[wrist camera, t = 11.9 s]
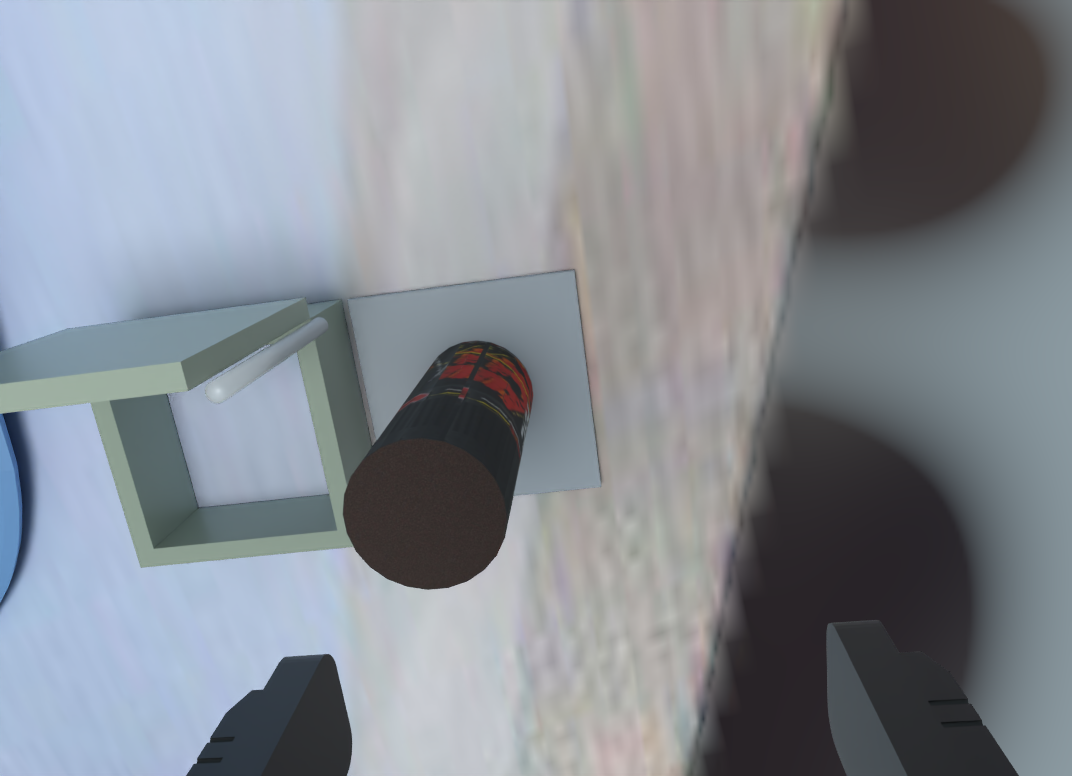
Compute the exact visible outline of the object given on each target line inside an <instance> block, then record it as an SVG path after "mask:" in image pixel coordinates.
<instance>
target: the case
mask: <svg viewBox="0 0 1072 776" xmlns="http://www.w3.org/2000/svg"><path fill="white" fill-rule="evenodd" d="M269 344H272V345H270V346H269V347H267V348H266V349H264V350H262V351H261V352H259V353H257V354H256V355H254V356H252V357H251V358H249V359H247V360H246V361H244V362H242V363H241V364H239V365H238V366H236V367H234V368H233V369H231V370H229V371H228V372H226V373H224V374H223V375H221V376H219V377H218V378H216V379H215V380H213V381H211V382H210V383H208V384H207V385H206V387H205V394H206V397H207V398H208V399H209V400H210V401H211V402H213V403H217V404H219V403H223V402H224V401H226V400H227V399H229V398H230V397H232V396H233V395H234V394H236V393H237V392H239V391H240V390H242V389H243V388H245V387H246V386H248V385H249V384H250V383H252V382H253V381H255V380H256V379H258V378H259V377H261V376H262V375H264V374H265V373H267V372H268V371H269V370H271V369H272V368H274V367H275V366H277V365H278V364H280V363H281V362H283V361H284V360H286V359H287V358H288V357H290V356H291V355H293V354H294V353H296V352H297V355H298V359H299V363H300V368H301V372H302V377H303V381H304V385H305V390H306V394H307V399H308V403H309V407H310V412H311V416H312V421H313V425H314V429H315V434H316V438H317V443H318V447H319V451H320V456H321V460H322V465H323V469H324V473H325V478H326V482H327V487H328V491H329V494H328V495H318V496H309V497H299V498H290V499H280V500H271V501H261V502H252V503H242V504H233V505H223V506H214V507H204V508H198V506H197V502H196V498H195V495H194V491H193V488H192V484H191V480H190V477H189V473H188V469H187V466H186V462H185V459H184V455H183V451H182V448H181V444H180V441H179V437H178V433H177V430H176V426H175V423H174V419H173V415H172V412H171V408H170V405H169V401H168V397H167V393H176V392H184V391H189V390H191V389H192V388H194V387H196V386H197V385H199V384H201V383H202V382H204V381H206V380H207V379H209V378H211V377H213V376H214V375H216V374H218V373H219V372H221V371H223V370H224V369H226V368H228V367H229V366H231V365H233V364H234V363H236V362H238V361H239V360H241V359H243V358H244V357H246V356H248V355H249V354H251V353H253V352H254V351H256V350H258V349H259V348H261V347H263V346H264V345H269ZM84 403H91V406H92V410H93V413H94V416H95V420H96V423H97V426H98V429H99V433H100V436H101V439H102V442H103V446H104V449H105V452H106V455H107V459H108V462H109V465H110V469H111V472H112V475H113V478H114V482H115V485H116V488H117V491H118V495H119V498H120V501H121V504H122V508H123V511H124V514H125V518H126V521H127V524H128V527H129V531H130V534H131V537H132V540H133V544H134V547H135V550H136V553H137V557H138V560H139V563H140V567H141V568H142V567H152V566H163V565H173V564H183V563H193V562H203V561H214V560H224V559H234V558H244V557H254V556H265V555H275V554H285V553H295V552H305V551H316V550H326V549H336V548H346V547H354V546H353V544H352V542H351V541H350V539H349V537H348V535H347V532H346V527H345V523H344V518H343V501H344V493H345V490H346V488H347V485H348V482H349V480H350V477H351V475H352V474H353V473H354V471H355V470H356V468H357V467H358V466H359V464H360V463H361V461H362V460H363V459H364V457H365V456H366V455H367V453H368V452H369V450H370V449H371V448H372V445H371V440H370V435H369V430H368V425H367V421H366V416H365V411H364V406H363V401H362V396H361V392H360V387H359V382H358V377H357V372H356V368H355V363H354V358H353V353H352V348H351V343H350V339H349V334H348V329H347V324H346V319H345V315H344V310H343V305H342V300H334V301H327V302H319V303H311V304H307V302H306V298H298V299H290V300H283V301H275V302H267V303H260V304H252V305H244V306H237V307H229V308H221V309H214V310H206V311H198V312H191V313H183V314H175V315H168V316H160V317H153V318H145V319H137V320H130V321H122V322H114V323H107V324H99V325H91V326H84V327H76V328H68V329H65V330H62V331H59V332H56V333H53V334H50V335H47V336H44V337H41V338H38V339H35V340H33V341H30V342H27V343H24V344H21V345H18V346H15V347H12V348H9V349H6V350H3V351H0V414H2V413H10V412H18V411H26V410H35V409H43V408H51V407H60V406H68V405H76V404H84Z"/></svg>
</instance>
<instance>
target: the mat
mask: <svg viewBox="0 0 1072 776" xmlns="http://www.w3.org/2000/svg"><path fill="white" fill-rule="evenodd" d="M347 302H348V307H349V312H350V316H351V321H352V326H353V331H354V336H355V341H356V346H357V351H358V355H359V360H360V365H361V370H362V375H363V380H364V385H365V389H366V394H367V399H368V404H369V409H370V414H371V419H372V423H373V428H374V433H375V438H376V441H377V439H378V438H379V437H380V435H381V434H382V432H383V431H384V430H385V428H386V427H387V426H388V424H389V423H390V421H391V420H392V419H393V417H394V416H395V414H396V413H397V412H398V410H399V409H400V408H401V406H402V405H403V403H404V402H405V401H406V399H407V398H408V396H409V395H410V394H411V392H412V391H413V390H414V388H415V387H416V385H417V384H418V383H419V381H420V380H421V379H422V377H423V376H424V374H425V373H426V372H427V370H428V369H429V367H430V366H431V365H432V363H433V362H434V361H435V359H436V358H437V357H438V356H439V355H440V354H441V353H443V352H444V351H445V350H447V349H448V348H449V347H452V346H454V345H457V344H459V343H462V342H468V341H485V342H492V343H494V344H496V345H499V346H501V347H504V348H506V349H507V350H508V351H510V352H511V353H512V354H514V355H515V356H516V357H517V358H518V359H519V360H520V362H521V363H522V364H523V365H524V367H525V368H526V370H527V372H528V374H529V377H530V379H531V382H532V389H533V402H532V409H531V414H530V418H529V423H528V428H527V433H526V438H525V442H524V447H523V452H522V457H521V462H520V467H519V471H518V476H517V481H516V486H515V491H514V495H513V496H517V495H527V494H537V493H546V492H556V491H566V490H576V489H585V488H595V487H601V479H600V471H599V463H598V455H597V447H596V439H595V431H594V423H593V415H592V407H591V399H590V391H589V383H588V375H587V367H586V359H585V351H584V343H583V335H582V327H581V319H580V311H579V303H578V295H577V287H576V279H575V271H574V269H573V270H565V271H558V272H550V273H542V274H535V275H527V276H519V277H512V278H504V279H496V280H488V281H481V282H473V283H465V284H458V285H450V286H442V287H435V288H427V289H419V290H411V291H404V292H396V293H388V294H381V295H373V296H365V297H358V298H350V299H349V300H347Z"/></svg>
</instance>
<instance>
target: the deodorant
mask: <svg viewBox="0 0 1072 776" xmlns="http://www.w3.org/2000/svg"><path fill="white" fill-rule="evenodd" d="M532 402H533V389H532V382H531V379H530V377H529V374H528V372H527V370H526V368H525V367H524V365H523V364H522V363H521V362H520V360H519V359H518V358H517V357H516V356H515V355H514V354H512V353H511V352H510V351H508V350H507V349H506V348H504V347H501V346H499V345H496V344H494V343H492V342H485V341H468V342H462V343H459V344H457V345H454V346H452V347H449V348H448V349H447V350H445V351H444V352H443V353H441V354H440V355H439V356H438V357H437V358H436V359H435V361H434V362H433V363H432V365H431V366H430V367H429V369H428V370H427V372H426V373H425V374H424V376H423V377H422V379H421V380H420V381H419V383H418V384H417V385H416V387H415V388H414V390H413V391H412V392H411V394H410V395H409V396H408V398H407V399H406V401H405V402H404V403H403V405H402V406H401V408H400V409H399V410H398V412H397V413H396V414H395V416H394V417H393V419H392V420H391V421H390V423H389V424H388V426H387V427H386V428H385V430H384V431H383V432H382V434H381V435H380V437H379V438H378V439H377V441H376V442H375V444H374V445H373V446H372V448H371V449H370V450H369V452H368V453H367V455H366V456H365V457H364V459H363V460H362V461H361V463H360V464H359V466H358V467H357V468H356V470H355V471H354V473H353V474H352V475H351V477H350V480H349V482H348V485H347V488H346V490H345V493H344V501H343V518H344V523H345V527H346V532H347V535H348V537H349V539H350V541H351V542H352V544H353V546H354V548H355V550H356V552H357V553H358V554H359V555H360V556H361V557H362V559H363V560H364V561H365V562H366V563H367V564H368V565H369V566H370V567H371V568H372V569H374V570H375V571H377V572H378V573H379V574H381V575H382V576H384V577H385V578H387V579H389V580H391V581H394V582H397V583H399V584H402V585H404V586H407V587H414V588H420V589H427V590H429V589H440V588H449V587H452V586H455V585H458V584H461V583H464V582H466V581H468V580H470V579H471V578H473V577H474V576H476V575H477V574H479V573H480V572H482V571H483V570H484V569H485V568H486V567H487V566H488V565H489V564H490V563H491V561H492V560H493V559H494V558H495V557H496V556H497V554H498V551H499V549H500V547H501V545H502V543H503V540H504V538H505V534H506V529H507V524H508V519H509V515H510V510H511V505H512V500H513V495H514V491H515V486H516V481H517V476H518V471H519V467H520V462H521V457H522V452H523V447H524V442H525V438H526V433H527V428H528V423H529V418H530V414H531V409H532Z"/></svg>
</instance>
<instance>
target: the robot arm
mask: <svg viewBox="0 0 1072 776" xmlns="http://www.w3.org/2000/svg"><path fill="white" fill-rule="evenodd" d="M827 685H828V686H827V688H828V689H827V691H828V713H829V721H830V727H831V732H832V736H833V740H834V743H835V746H836V749H837V752H838V755H839V757H840V759H841V762H842V765H843V767H844V770H845V772H846V775H847V776H1019V775H1018V774H1017V773H1016V771H1015V769H1014V768H1013V766H1012V765H1011V763H1010V762H1009V760H1008V759H1007V757H1006V756H1005V754H1004V753H1003V751H1002V750H1001V748H1000V747H999V745H998V744H997V742H996V741H995V739H994V738H993V736H992V735H991V733H990V732H989V730H988V729H987V727H986V726H983V724H982V720H981V718H980V717H979V715H978V714H977V712H976V711H975V709H974V708H973V706H972V705H971V704H969V703H968V699H967V697H966V695H965V694H964V693H963V691H962V689H961V688H960V687H959V685H958V683H957V682H956V680H955V679H954V677H953V676H952V675H951V673H950V672H949V671H947V670H946V669H944V668H943V667H942V666H941V665H939V664H938V663H936V662H935V661H934V660H932V659H931V658H929V657H928V656H927V655H925V654H924V653H923V652H907V653H899V652H898V650H897V648H896V646H895V645H894V643H893V641H892V639H891V638H890V636H889V634H888V633H887V631H886V629H885V628H884V626H883V625H882V623H881V622H880V621H879V620H870V621H855V622H839V623H829V624H828V626H827ZM351 755H352V734H351V728H350V723H349V719H348V715H347V710H346V706H345V702H344V697H343V693H342V689H341V684H340V680H339V676H338V672H337V667H336V664H335V661H334V659H333V657H332V656H331V655H329V654H323V655H307V656H292V657H285V658H283V659H282V660H281V661H280V662H279V664H278V666H277V667H276V669H275V671H274V672H273V674H272V676H271V678H270V679H269V681H268V683H267V684H266V686H265V688H264V689H263V690H252V691H251V692H250V693H248V694H247V695H246V696H245V697H244V698H243V699H242V700H240V701H239V702H238V703H237V704H236V705H235V706H234V707H232V708H231V709H230V710H229V711H228V712H227V713H226V714H225V716H224V717H223V719H222V720H221V722H220V723H219V725H218V727H217V728H216V730H215V731H214V733H213V734H212V736H211V738H210V743H207V744H206V746H205V747H204V749H203V750H202V752H201V753H200V755H199V757H198V758H197V764H193V766H192V768H191V769H190V771H189V772H188V774H187V776H347V773H348V770H349V767H350V762H351Z"/></svg>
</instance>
